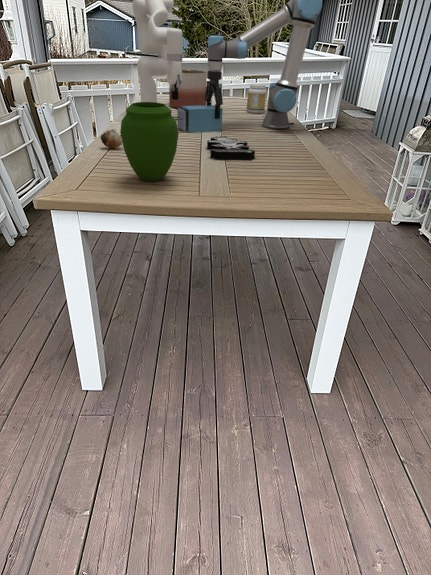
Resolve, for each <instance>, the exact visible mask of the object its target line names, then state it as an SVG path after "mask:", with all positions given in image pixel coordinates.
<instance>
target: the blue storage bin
mask: <svg viewBox="0 0 431 575" xmlns="http://www.w3.org/2000/svg"><path fill="white" fill-rule="evenodd" d="M183 109H185V110H187V111H189V123H188V129H187V128H186V130H185V132H188V133H205V132H221V131H222V126H223V124H222V123H223V107H220V119H215V104H212V105H205V106H182V110H183Z"/></svg>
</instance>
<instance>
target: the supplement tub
mask: <svg viewBox="0 0 431 575" xmlns="http://www.w3.org/2000/svg"><path fill="white" fill-rule="evenodd" d="M266 87H267V86H266V84H264V83H250V84H249V88H248V90H247V102H246V111H247V112H248V113H250V114H251V113H252V114H263V113H265V110H266V101H267V100H266V99H267V89H266Z"/></svg>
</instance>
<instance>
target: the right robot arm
mask: <svg viewBox="0 0 431 575" xmlns="http://www.w3.org/2000/svg"><path fill="white" fill-rule="evenodd" d="M322 8H323V0H289V1H288V2H286V3H285V4H283V5H282V8H281V9H279V10H278V11H276V12H274V13H273V14H272V15H269V16H268V17H267V18H265V19H263V20H262V21H260V22H259V23H257V24H256V25H254V26H252V27H251V28H250V29H248V30H246V31H245V32H243V33H241V34H239V35H238V36H237V37H235V38H233V39H231V40H225V39H224V36H223V35H209V36H208V39H207V40H208V42H207V44H208V45H207V63H206V66H207V71H206V72H207V79H208V80H207V82H206V93H205V100H206V105H213V104H212V102H213V101H212V100H213V99H212V98H213V96H214V101H215V104H214V105H215V119H220V108H221V106H222V105H224V102H223V83H220V80H222V76H223V72H222V70H223V59H235V60H245V59H246V58H247V53H248V50H249V49H250V48H252V47H254V46H255V45H257V44H259V43H260V42H261V41H264V40H265V39H266V38H268V37H270V36H271V35H273V34H274V33H276V32H278V31H280V30H281V29H283V28H285V27H286V26H288V25H293V26H292V30H291V34H290V38H289V42H288V46H287V49H286V50H287V51H286V54H285V57H284V62H283V66H282V70H281V74H280V78H279V79H278V80H277V81H276V82H271V83H270V84H269V88H268V98H267V107H266V108H267V109H266V114H265V117H263V121H262V127H263V128H266V129H272V130H287V129H289V127H290V125H294V124H295V122H289V116H288V112H290V111H292V110H293V109H294V108H295V106H296V103H297V93H298V89H299V85H298V83H297V81H298V78H299V73H300V71H301V67H302V62H303V59H304V55H305V51H306V49H307V48H306V47H307V44H308V40H309V36H310V33H311V30H312V29H313V28H314V27H315V25H316V23H317V19H318V16H319V15H320V13H321V12H322Z"/></svg>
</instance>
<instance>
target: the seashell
mask: <svg viewBox="0 0 431 575" xmlns="http://www.w3.org/2000/svg"><path fill="white" fill-rule="evenodd" d="M100 140H101V143H102V144H103V145H104V146H105V147H107V148H110V149H116V148H119V147H120V146H122V145H123V142H122V138H121V134H119V133H118V132H117V131H116V129H114V128H112V129H109V130H106V131H104V132H103V133H102V134H101V135H100Z"/></svg>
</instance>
